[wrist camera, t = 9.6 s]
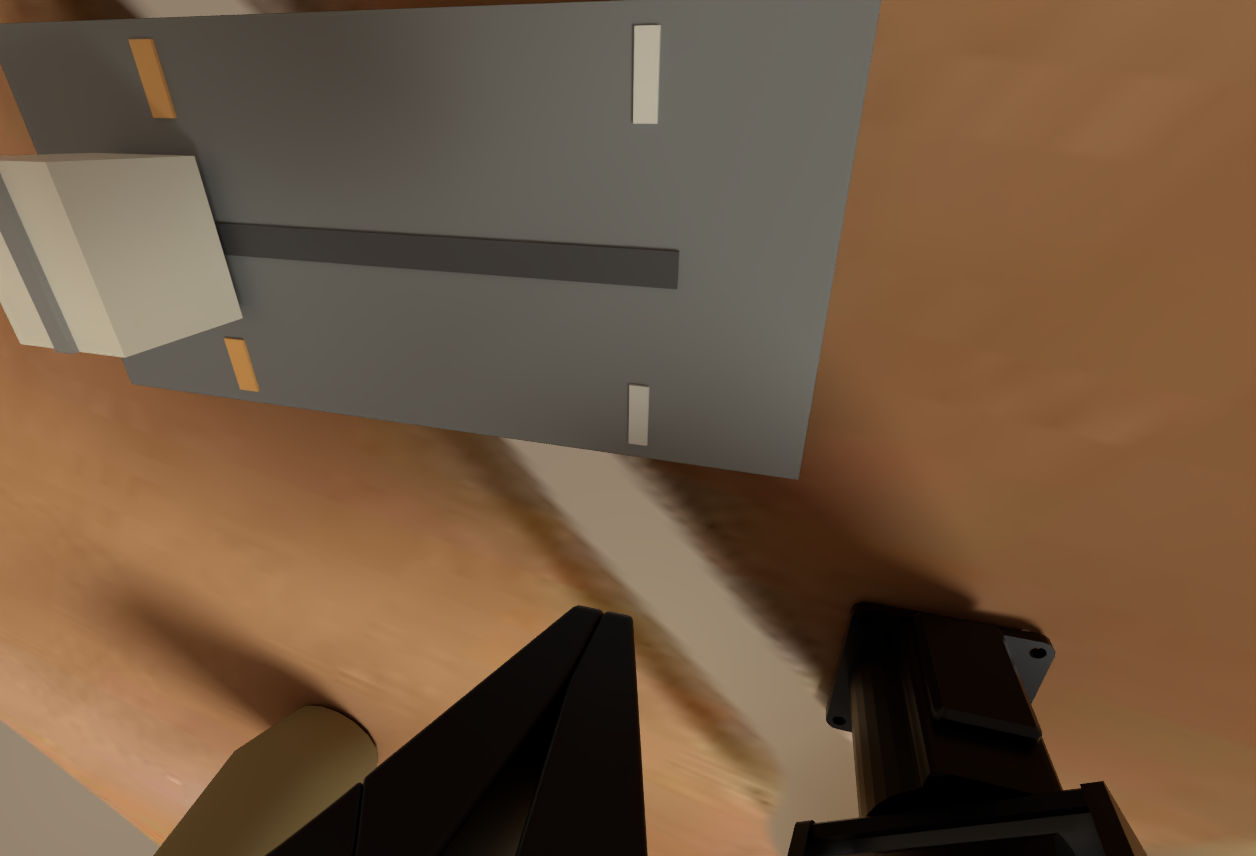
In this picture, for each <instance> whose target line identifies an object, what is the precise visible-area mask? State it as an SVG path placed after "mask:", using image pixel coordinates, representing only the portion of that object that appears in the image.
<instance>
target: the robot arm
mask: <svg viewBox="0 0 1256 856" xmlns="http://www.w3.org/2000/svg"><path fill="white" fill-rule="evenodd" d="M862 615H869V616H870V617H868V618H864V617H861V616H862ZM1033 648H1039V649H1036V650H1031V649H1033ZM1054 657H1055V650H1054V648H1053V646H1052V644H1051V642H1050V640H1049V639H1048V638H1047V637H1046V636H1044V635H1041V634H1038V633H1033V632H1027V631H1022V630H1016V629H1011V628H1006V627H1000V626H995V625H989V624H984V623H978V622H973V621H968V620H962V619H957V618H951V617H946V616H941V615H935V614H930V613H924V612H919V611H913V610H908V609H903V608H897V607H892V606H886V605H881V604H876V603H870V602H860V603H857V604H855V605H854V606H853V607H852V609H851V611H850V615H849V619H848V623H847V627H846V631H845V635H844V639H843V643H842V647H841V651H840V655H839V659H838V663H837V667H836V671H835V675H834V679H833V683H832V687H831V691H830V695H829V699H828V702H827V706H826V721H827V723H828V724H829V725H830V726H831V727H833V728H836V729H840V730H844V731H848V732H852V737H853V749H854V760H855V772H856V785H857V798H858V809H859V817H858V818H852V819H844V820H836V821H828V822H820V823H815V822H814V821H813V820H811V821H803V822H797V823H796V824H795V828H794V831H793V836H792V839H791V843H790V848H789V852H788V856H1147V854H1146V852H1145V851H1144V849H1143V847H1142V846H1141V844H1140V842H1139V841H1138V839H1137V837H1136V835H1135V834H1134V832H1133V830H1132V829H1131V827H1130V825H1129V824H1128V822H1127V820H1126V818H1125V817H1124V815H1123V813H1122V812H1121V810H1120V808H1119V807H1118V805H1117V803H1116V801H1115V800H1114V798H1113V796H1112V795H1111V793H1110V791H1109V790H1108V788H1107V786H1106V784H1105V783H1104V781H1100V782H1093V783H1085V784H1080V786H1081V788H1079V789H1071V790H1063V789H1062V787H1061V784H1060V782H1059V779H1058V776H1057V774H1056V771H1055V769H1054V766H1053V764H1052V761H1051V759H1050V756H1049V754H1048V751H1047V749H1046V746H1045V744H1044V741H1043V738H1042V731H1041V728H1040V726H1039V723H1038V721H1037V718H1036V716H1035V713H1034V711H1033V708H1032V706H1031V703H1032V701H1033V699H1034V697H1035V695H1036V693H1037V691H1038V689H1039V687H1040V685H1041V683H1042V681H1043V679H1044V677H1045V675H1046V673H1047V671H1048V669H1049V667H1050V665H1051V663H1052V661H1053V659H1054ZM264 856H648V855H647V838H646V822H645V806H644V790H643V774H642V758H641V741H640V725H639V709H638V693H637V677H636V661H635V644H634V628H633V619H632V617H631V616H629V615H624V614H619V613H614V612H605V613H603V612H602V611H601V610H600V609H595V608H590V607H585V606H580V605H578V606H575V607H573V608H572V609H570V610H569V611H568V612H567V613H565V614H564V615H563V616H562V617H560V618H559V619H558V620H557V621H556V622H554V623H553V624H552V625H551V626H549V627H548V628H547V629H546V630H545V631H543V632H542V633H541V634H540V635H538V636H537V637H536V638H535V639H533V640H532V641H531V642H530V643H529V644H527V645H526V646H525V647H524V648H522V649H521V650H520V651H519V652H518V653H516V654H515V655H514V656H513V657H511V658H510V659H509V660H508V661H507V662H505V663H504V664H503V665H502V666H500V667H499V668H498V669H497V670H496V671H494V672H493V673H492V674H491V675H489V676H488V677H487V678H486V679H484V680H483V681H482V682H481V683H480V684H478V685H477V686H476V687H475V688H473V689H472V690H471V691H470V692H469V693H467V694H466V695H465V696H464V697H462V698H461V699H460V700H459V701H458V702H456V703H455V704H454V705H453V706H451V707H450V708H449V709H448V710H446V711H445V712H444V713H443V714H442V715H440V716H439V717H438V718H437V719H435V720H434V721H433V722H432V723H431V724H429V725H428V726H427V727H426V728H424V729H423V730H422V731H421V732H420V733H418V734H417V735H416V736H415V737H413V738H412V739H411V740H410V741H408V742H407V743H406V744H405V745H404V746H402V747H401V748H400V749H399V750H397V751H396V752H395V753H394V754H393V755H391V756H390V757H389V758H388V759H386V760H385V761H384V762H383V763H382V764H380V765H379V766H378V767H377V768H375V769H374V770H373V771H372V772H370V773H369V774H368V775H367V776H366V777H365V778H364V780H363V784H362V783H360V782H359V783H357V784H355V785H354V786H353V787H352V788H350V789H349V790H348V791H347V792H346V793H344V794H343V795H342V796H341V797H339V798H338V799H337V800H336V801H335V802H333V803H332V804H331V805H330V806H328V807H327V808H326V809H325V810H323V811H322V812H321V813H319V814H318V815H317V816H316V817H314V818H313V819H312V820H310V821H309V822H308V823H307V824H305V825H304V826H303V827H302V828H300V829H299V830H298V831H296V832H295V833H294V834H293V835H291V836H290V837H289V838H287V839H286V840H285V841H284V842H282V843H281V844H280V845H278V846H277V847H276V848H274V849H273V850H271V851H270V852H269V853H267V854H266V855H264Z"/></svg>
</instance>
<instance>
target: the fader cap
mask: <svg viewBox="0 0 1256 856" xmlns="http://www.w3.org/2000/svg"><path fill="white" fill-rule="evenodd" d="M0 303H1V305H2V307H3V309H4V311H5V313H6V315H7V317H8V319H9V321H10V323H11V325H12V327H13V329H14V331H15V333H16V335H17V337H18V340H19V342H20V344H24V345H32V346H40V347H47V348H54V349H55V351H56V352H60V353H68V354H74V353H77V352H85V353H93V354H100V355H108V356H116V357H123V358H126V357H129V356H132V355H135V354H138V353H141V352H144V351H147V350H150V349H153V348H156V347H158V346H161V345H164V344H167V343H170V342H173V341H176V340H179V339H182V338H185V337H188V336H191V335H194V334H197V333H200V332H203V331H206V330H209V329H212V328H215V327H218V326H221V325H224V324H227V323H230V322H233V321H236V320H239V319H242V318H243V317H242V313H241V310H240V307H239V303H238V300H237V297H236V293H235V290H234V287H233V283H232V280H231V277H230V273H229V270H228V267H227V263H226V260H225V257H224V253H223V250H222V246H221V243H220V240H219V236H218V233H217V230H216V226H215V223H214V220H213V216H212V213H211V210H210V206H209V203H208V200H207V196H206V193H205V190H204V186H203V183H202V180H201V176H200V173H199V170H198V166H197V163H196V160H195V156H182V155H149V154H115V153H72V154H41V155H10V156H0Z"/></svg>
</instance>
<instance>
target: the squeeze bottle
mask: <svg viewBox="0 0 1256 856" xmlns="http://www.w3.org/2000/svg"><path fill="white" fill-rule="evenodd" d="M377 763H378V755H377V749H376V747H375V745H374V744H373V742H372V741H371V739H370V737H369V736H368V735H367V734H366V733H365V732H364V731H363V730H362V729H361V728H360V727H359V726H358V725H357V724H356V723H355V722H353V721H351V720H350V719H348V718H347V717H345V716H343V715H342V714H340V713H338V712H336V711H333V710H330V709H327V708H325V707H322V706H304V707H302V708H300V709H298V710H296V711H295V712H293V713H292V714H290V715H289V716H287V717H286V718H284V719H283V720H281V721H280V722H278V723H277V724H275V725H274V726H272V727H270V728H269V729H267V730H266V731H264V732H263V733H261V734H260V735H258V736H257V737H255V738H254V739H252V740H251V741H249V742H248V743H246V744H245V745H243V746H242V747H240V748H239V749H237V750H236V751H234V753H233V754H232V755H231V756H230V758H229V759H228V760H227V762H226V763H225V764H224V765H223V767H222V768H221V769H220V771H219V772H218V773H217V774H216V776H215V777H214V778H213V780H212V781H211V782H210V783H209V785H208V786H207V787H206V789H205V790H204V791H203V792H202V794H201V795H200V796H199V798H198V799H197V800H196V801H195V803H194V804H193V805H192V807H191V808H190V809H189V810H188V812H187V813H186V814H185V816H184V817H183V818H182V820H181V821H180V822H179V823H178V825H177V826H176V827H175V829H174V830H173V831H172V832H171V834H170V835H169V836H168V838H167V839H166V840H165V841H164V843H163V844H162V845H161V847H160V848H159V849H158V851H157V852H156V853H155V854H154V856H264V855H266V854H267V853H269V852H270V851H271V850H273V849H274V848H276V847H277V846H278V845H280V844H281V843H282V842H284V841H285V840H286V839H287V838H289V837H290V836H291V835H293V834H294V833H295V832H296V831H298V830H299V829H300V828H302V827H303V826H304V825H305V824H307V823H308V822H309V821H310V820H312V819H313V818H314V817H316V816H317V815H318V814H319V813H321V812H322V811H323V810H325V809H326V808H327V807H328V806H330V805H331V804H332V803H333V802H335V801H336V800H337V799H338V798H339V797H341V796H342V795H343V794H344V793H346V792H347V791H348V790H349V789H350V788H352V787H353V786H354V785H355V784H357V783H359V782H360V783H362V784H363V780H364V778H365V777H366V776H367V775H368V774H369V773H370V772H372V771H373V770H374V769H375V768H376V766H377Z"/></svg>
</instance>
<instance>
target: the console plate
mask: <svg viewBox="0 0 1256 856" xmlns="http://www.w3.org/2000/svg"><path fill="white" fill-rule="evenodd" d="M880 5H881V0H622V1H595V2H568V3H542V4H515V5H488V6H461V7H434V8H408V9H381V10H354V11H327V12H300V13H274V14H247V15H221V16H195V17H167V18H140V19H113V20H86V21H59V22H33V23H6V24H0V63H1V66H2V68H3V71H4V73H5V75H6V78H7V80H8V83H9V85H10V88H11V90H12V93H13V95H14V97H15V100H16V102H17V105H18V107H19V110H20V112H21V114H22V117H23V119H24V122H25V124H26V127H27V129H28V131H29V134H30V136H31V139H32V141H33V144H34V146H35V149H36V151H37V153H38V155H41V154H72V153H115V154H149V155H182V156H195V160H196V163H197V166H198V170H199V173H200V176H201V180H202V183H203V186H204V190H205V193H206V196H207V200H208V203H209V206H210V210H211V213H212V216H213V220H214V223H215V226H216V230H217V233H218V236H219V240H220V243H221V246H222V250H223V253H224V257H225V260H226V263H227V267H228V270H229V273H230V277H231V280H232V283H233V287H234V290H235V293H236V297H237V300H238V303H239V307H240V310H241V313H242V317H243V318H242V319H239V320H236V321H233V322H230V323H227V324H224V325H221V326H218V327H215V328H212V329H209V330H206V331H203V332H200V333H197V334H194V335H191V336H188V337H185V338H182V339H179V340H176V341H173V342H170V343H167V344H164V345H161V346H158V347H156V348H153V349H150V350H147V351H144V352H141V353H138V354H135V355H132V356H129V357H126V358H123V357H121V358H122V360H123V363H124V365H125V368H126V370H127V373H128V375H129V377H130V380H131V382H132V384H136V385H143V386H149V387H156V388H163V389H170V390H177V391H184V392H191V393H198V394H205V395H212V396H219V397H226V398H233V399H240V400H247V401H254V402H261V403H268V404H275V405H281V406H288V407H295V408H302V409H309V410H316V411H323V412H330V413H337V414H344V415H351V416H358V417H365V418H372V419H379V420H386V421H393V422H400V423H407V424H413V425H420V426H427V427H434V428H441V429H448V430H455V431H462V432H469V433H476V434H483V435H490V436H497V437H504V438H511V439H518V440H525V441H532V442H539V443H546V444H554V445H560V446H566V447H574V448H580V449H588V450H595V451H601V452H608V453H615V454H622V455H629V456H636V457H643V458H650V459H657V460H664V461H671V462H678V463H684V464H691V465H698V466H705V467H712V468H719V469H726V470H733V471H740V472H747V473H754V474H761V475H768V476H775V477H782V478H789V479H796V480H798V479H799V473H800V468H801V462H802V456H803V450H804V445H805V439H806V433H807V427H808V421H809V416H810V410H811V404H812V398H813V392H814V387H815V381H816V375H817V369H818V364H819V358H820V352H821V346H822V340H823V335H824V329H825V323H826V317H827V311H828V306H829V300H830V294H831V288H832V282H833V277H834V271H835V265H836V259H837V254H838V248H839V242H840V236H841V230H842V225H843V219H844V213H845V207H846V201H847V196H848V190H849V184H850V178H851V173H852V167H853V161H854V155H855V149H856V144H857V138H858V132H859V126H860V120H861V115H862V109H863V103H864V97H865V91H866V86H867V80H868V74H869V68H870V63H871V57H872V51H873V45H874V39H875V34H876V28H877V22H878V16H879V10H880Z"/></svg>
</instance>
